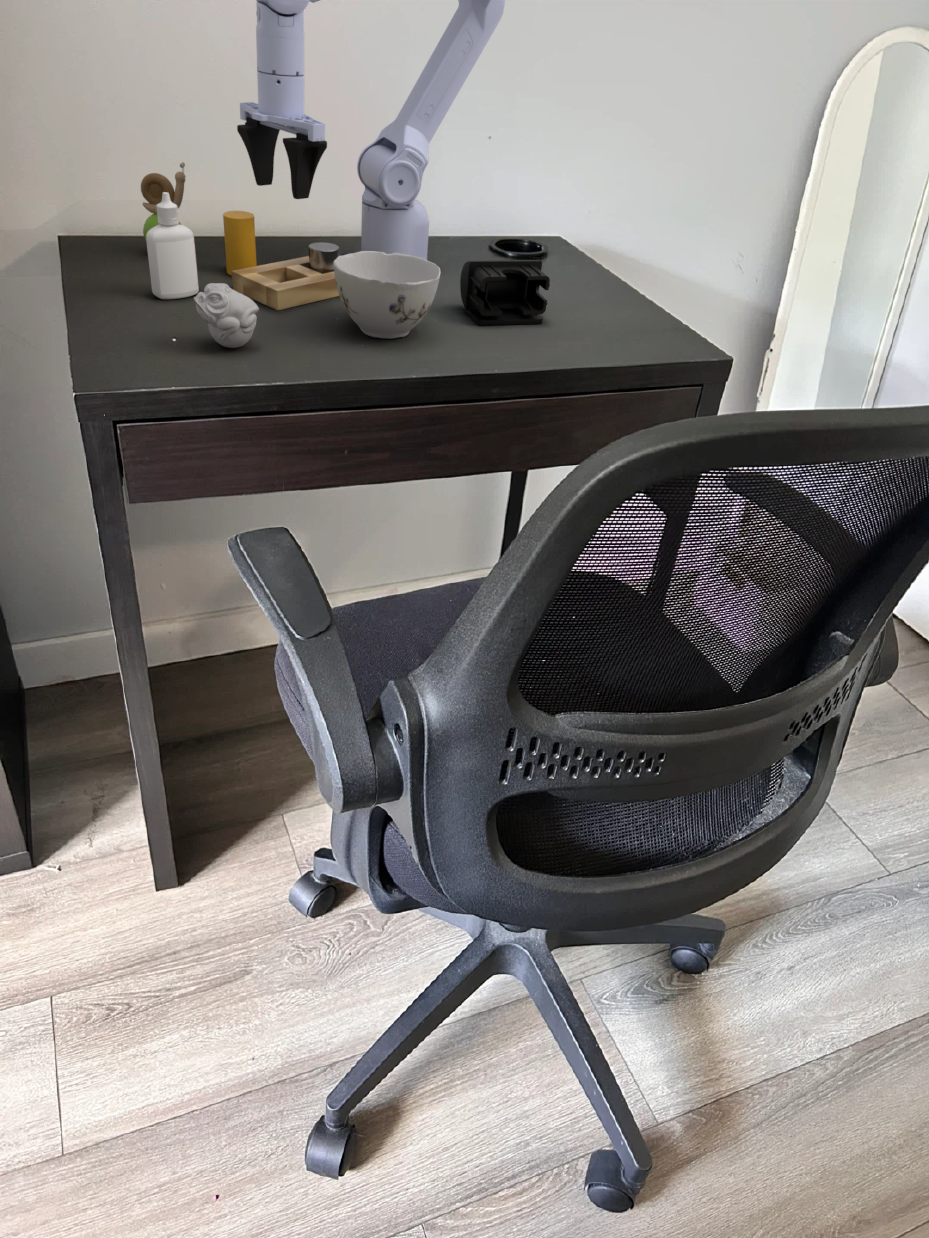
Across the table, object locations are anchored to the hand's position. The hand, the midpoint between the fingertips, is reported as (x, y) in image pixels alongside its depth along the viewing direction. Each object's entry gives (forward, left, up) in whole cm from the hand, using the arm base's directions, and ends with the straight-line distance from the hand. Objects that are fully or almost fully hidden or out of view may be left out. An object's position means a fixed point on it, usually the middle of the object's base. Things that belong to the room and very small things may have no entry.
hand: (282, 191), depth 121 cm
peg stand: (+3, +7, -10) cm, 13 cm away
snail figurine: (+9, -15, -11) cm, 20 cm away
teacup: (+4, +24, -11) cm, 26 cm away
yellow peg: (+5, -3, -10) cm, 12 cm away
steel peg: (-1, +7, -10) cm, 13 cm away
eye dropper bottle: (+18, 0, -11) cm, 21 cm away
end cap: (-12, +29, -11) cm, 33 cm away
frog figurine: (+23, +18, -11) cm, 31 cm away
